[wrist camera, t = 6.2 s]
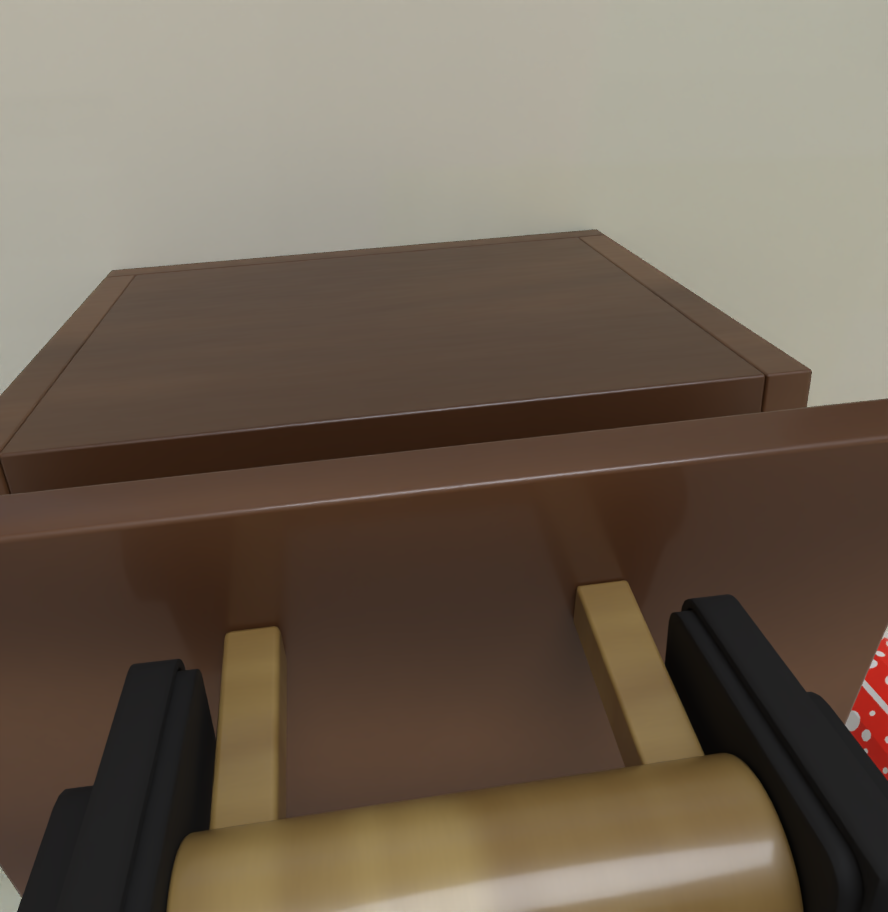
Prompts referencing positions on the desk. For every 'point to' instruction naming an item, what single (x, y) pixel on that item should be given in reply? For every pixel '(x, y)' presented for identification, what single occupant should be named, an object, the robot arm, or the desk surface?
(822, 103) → the desk surface
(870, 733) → the beverage cup
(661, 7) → the desk surface
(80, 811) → the robot arm
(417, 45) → the desk surface
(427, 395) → the bin
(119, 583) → the lid
